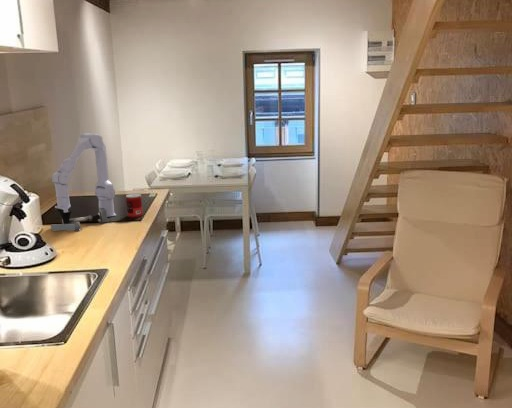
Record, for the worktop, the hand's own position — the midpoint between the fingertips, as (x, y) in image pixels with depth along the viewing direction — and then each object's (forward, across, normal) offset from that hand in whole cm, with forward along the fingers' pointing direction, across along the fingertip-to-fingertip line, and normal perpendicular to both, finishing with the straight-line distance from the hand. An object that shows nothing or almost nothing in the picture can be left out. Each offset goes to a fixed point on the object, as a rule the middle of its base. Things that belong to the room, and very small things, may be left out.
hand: (66, 223), depth 255 cm
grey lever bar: (+1, +7, -1) cm, 8 cm away
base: (+2, +10, +4) cm, 11 cm away
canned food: (+2, -2, +34) cm, 35 cm away
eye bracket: (+2, 0, +18) cm, 18 cm away
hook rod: (+1, 0, +6) cm, 6 cm away
